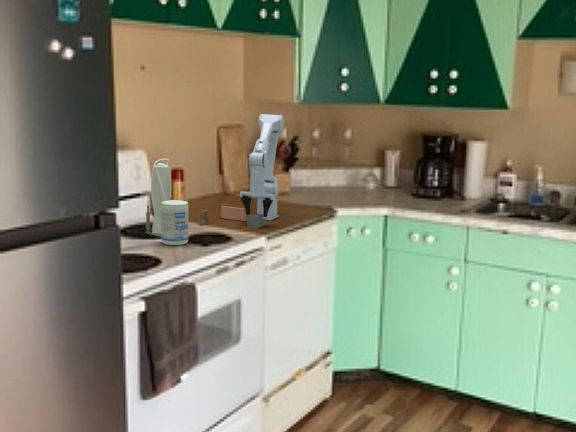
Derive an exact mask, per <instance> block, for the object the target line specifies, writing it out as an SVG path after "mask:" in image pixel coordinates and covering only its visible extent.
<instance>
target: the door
mask: <svg viewBox="0 0 576 432" xmlns="http://www.w3.org/2000/svg"><path fill="white" fill-rule="evenodd" d="M247 216H248V215H246V211H245V207H243V208H242V207H234V206H229V205H228V206H221V205H220V218H221V219H226V220H234V221H242V222H243V221H244V222H246V221H247Z"/></svg>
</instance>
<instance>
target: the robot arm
mask: <svg viewBox="0 0 576 432" xmlns="http://www.w3.org/2000/svg"><path fill="white" fill-rule="evenodd" d="M258 117H259V118H258V127H259V129H260V130H259V131H260V136H259V138H258V139H257V140H256V141H255V145H254V146H253V151H252V153H249V157H248V167H249V172H250V182H249V184H250V185H249V191H246V190H245V191H244V190H241V191H240V192H239V197H240V198H241V199H240V200H241V202H242V204H243V208H244V209H245V211H246V215H247V216H248V215H250V214H251V205H252V204H251V203H252V199H254V198H255V199H257V206H256V207H257V209H256V210H257V211H256V214H263V218H264V219H267V221H271V220H274V219H278V218H279V217H280V215H278V200H277V197H278V196H279V191H280V190H279V189H280V187H279V185H280V184H279V183H280V182H279V179H278V178H277V177H276V176H275V175H274V171H275V170H274V169H275V163H276V161H275V160H276V156H277V155H276V154H277V146H278V140H279V138H280V137H282V136H283V134H284V125H285V120H284V119H285V118H284V116H283V114H269V113H268V114H266V113H265V114H263V113H261V114H260V115H259V116H258Z"/></svg>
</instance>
